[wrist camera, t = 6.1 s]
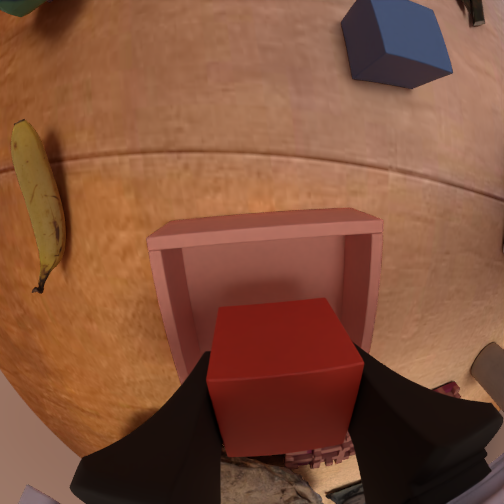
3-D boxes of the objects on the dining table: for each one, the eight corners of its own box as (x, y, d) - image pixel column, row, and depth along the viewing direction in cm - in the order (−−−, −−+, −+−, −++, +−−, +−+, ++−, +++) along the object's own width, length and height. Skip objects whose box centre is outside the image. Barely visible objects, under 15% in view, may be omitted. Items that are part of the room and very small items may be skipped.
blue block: (412, 89, 12) (453, 73, 8) (351, 79, 12) (385, 52, 8) (399, 34, 11) (433, 9, 7) (340, 21, 11) (365, -14, 7)
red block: (320, 375, 12) (343, 444, 8) (230, 383, 12) (227, 457, 8) (325, 296, 11) (365, 362, 7) (217, 305, 11) (205, 380, 7)
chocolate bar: (276, 428, 19) (278, 445, 17) (454, 381, 19) (463, 392, 18) (277, 463, 21) (279, 478, 20) (433, 422, 21) (439, 432, 20)
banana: (42, 130, 12) (3, 126, 9) (67, 120, 12) (28, 112, 9) (57, 273, 15) (23, 296, 11) (82, 272, 15) (48, 297, 11)
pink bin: (342, 354, 17) (361, 392, 14) (197, 367, 17) (189, 409, 14) (351, 207, 15) (384, 219, 11) (169, 220, 15) (145, 237, 11)
